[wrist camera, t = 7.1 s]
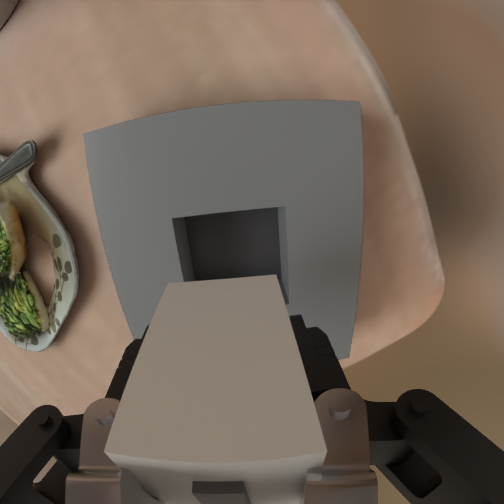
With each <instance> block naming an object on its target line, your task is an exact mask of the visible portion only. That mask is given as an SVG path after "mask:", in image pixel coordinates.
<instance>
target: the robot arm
mask: <svg viewBox="0 0 504 504" xmlns="http://www.w3.org/2000/svg"><path fill="white" fill-rule="evenodd" d="M18 1H19V0H0V29H1V27H2V26H3V25H4V23H5V22H6V20H7V19H8V17H9V16H10V14H11V13H12V11H13V10H14V8H15V6H16V4H17V3H18ZM289 319H290V322H291V325H292V329H293V332H294V335H295V339H296V342H297V346H298V349H299V352H300V356H301V359H302V363H303V366H304V370H305V373H306V377H307V380H308V384H309V387H310V391H311V394H312V398H313V401H314V405H315V408H316V412H317V415H318V419H319V423H320V426H321V430H322V433H323V437H324V441H325V444H326V448H327V453H326V457H325V460H324V463H323V466H319V467H313V468H308V469H307V473H306V478H305V484H304V489H303V492H302V496H301V497H300V501H299V504H378V481H377V476H376V473H375V471H372V470H371V468H370V465H375V466H376V467H377V468H378V469H379V470H380V471H381V472H382V473H383V475H384V476H385V477H386V478H387V479H388V480H389V481H390V482H391V483H392V484H393V485H394V486H395V488H397V490H398V491H399V492H400V493H401V494H402V495H403V496H404V497H405V498H406V499H407V500H408V501H409V502H410V503H411V504H504V451H502V450H501V449H500V448H499V447H498V446H496V445H495V444H494V443H493V442H491V441H490V440H489V439H488V438H487V437H485V436H484V435H483V434H482V433H481V432H479V431H478V430H477V429H476V428H474V427H473V426H472V425H471V424H469V423H468V422H467V421H466V420H465V419H463V418H462V417H461V416H460V415H459V414H457V413H456V412H455V411H454V410H452V409H451V408H450V407H449V406H447V405H446V404H445V403H444V402H443V401H441V400H440V399H439V398H438V397H436V396H435V395H434V394H433V393H430V392H429V391H426V390H422V389H413V390H409V391H407V392H405V393H403V394H402V395H401V396H400V397H399V398H398V400H397V402H372V401H367V400H364V399H363V398H362V397H361V396H360V395H359V394H358V393H356V392H354V391H352V390H351V388H350V387H349V384H348V382H347V380H346V377H345V375H344V373H343V370H342V368H341V366H340V363H339V361H338V359H337V356H336V355H335V352H334V350H333V347H332V346H331V343H330V340H329V338H328V336H327V334H326V333H324V332H323V331H322V330H321V329H320V328H318V327H310V328H306V326H305V323H304V320H303V318H302V315H301V314H300V315H291V316H289ZM148 328H149V325H148V326H147V327H146V329H145V332H144V334H143V336H142V339H135V340H134V341H133V342H132V343H131V344H130V345H129V346H128V347H127V348H126V350H125V352H124V354H123V356H122V360H121V361H120V363H119V368H117V370H116V372H115V375H114V377H113V379H112V382H111V384H110V387H109V389H108V392H107V394H106V396H105V398H102V399H99V400H96V401H94V402H93V403H91V404H90V405H89V406H88V407H87V409H86V410H85V413H84V414H79V415H71V416H63V415H62V413H61V412H60V411H59V409H58V408H56V407H55V406H52V405H43V406H40V407H38V408H36V409H35V410H34V411H33V412H32V413H31V414H30V415H29V416H28V417H27V418H26V419H25V420H24V421H23V422H22V423H21V424H20V426H19V427H18V428H17V429H16V430H15V431H14V432H13V433H12V434H11V435H10V436H9V437H8V439H7V440H6V441H5V442H4V443H3V444H2V445H1V446H0V504H165V503H164V502H163V501H162V500H161V499H160V498H158V497H151V496H150V495H149V494H148V493H147V492H146V491H144V490H143V489H142V488H141V486H140V484H139V482H138V479H137V477H136V476H135V475H134V474H133V473H132V472H131V471H130V470H129V469H128V468H121V467H118V466H117V465H116V464H115V463H114V462H113V461H112V460H111V459H110V458H109V457H108V456H107V455H106V453H105V452H104V449H105V446H106V443H107V439H108V436H109V433H110V430H111V427H112V424H113V421H114V418H115V415H116V412H117V409H118V406H119V403H120V401H121V398H122V395H123V392H124V389H125V387H126V384H127V381H128V379H129V376H130V373H131V371H132V368H133V365H134V363H135V360H136V358H137V355H138V353H139V350H140V348H141V345H142V343H143V340H144V338H145V335H146V333H147V330H148ZM52 456H53V457H54V458H55V459H56V460H57V462H56V463H55V464H54V465H53V467H52V468H51V469H50V470H49V472H48V473H47V474H46V475H45V477H44V478H43V479H42V480H41V481H40V482H38V483H33V480H34V478H35V477H36V476H37V475H38V473H39V472H40V471H41V470H42V469H43V467H44V466H45V465H46V464H47V462H48V461H49V460H50V459H51V457H52Z"/></svg>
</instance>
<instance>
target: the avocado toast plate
mask: <svg viewBox="0 0 504 504" xmlns="http://www.w3.org/2000/svg"><path fill="white" fill-rule="evenodd" d="M36 158H37V146H36V143H35V142H34V141H33V140H29V141H26V142H25V143H23V144H22V145H21V146H19V147H18V148H17V149H16V150H15V151H14V152H13V153H12V154H11V155H10V156H9V157H6V156H4V155H1V154H0V331H1V332H2V333H3V334H4V335H5V336H6V337H7V338H8V339H9V340H10V341H11V342H12V343H14V344H15V345H16V346H18V347H20V348H22V349H24V350H27V351H33V352H40V351H44V350H45V349H46V348H48V347H49V346H50V345H51V344H52V343H53V341H54V340H55V339H56V337H57V335H58V331H59V329H60V328H61V326H62V324H63V322H64V320H65V318H66V317H67V315H68V314H69V311H70V310H71V308H72V305H73V303H74V300H75V298H76V296H77V294H78V291H79V268H78V262H77V257H76V253H75V249H74V245H73V240H72V238H71V236H70V234H69V232H68V231H67V229H66V227H65V226H64V224H63V223H62V221H61V219H60V218H59V216H58V214H57V212H56V211H55V210H54V208H53V207H52V206H51V204H50V203H49V202H48V201H47V200H46V199H45V198H44V197H43V196H42V194H41V193H40V192H39V191H38V190H37V188H36V187H35V185H34V184H33V183H32V181H31V179H30V177H29V169H30V168H31V166H32V165H33V164H34V162H35V160H36ZM32 234H33V235H36V236H38V237H40V238H41V239H43V240H44V241H45V242H47V243H48V244H49V247H50V250H51V254H52V258H53V263H54V273H55V284H54V292H53V295H52V298H51V301H50V304H49V306H47V305H46V304H45V302H44V298H43V296H42V294H41V293H40V292H39V289H38V287H37V285H36V284H35V282H34V280H33V279H32V277H31V274H30V272H29V270H28V267H27V255H26V253H27V249H28V248H30V237H31V235H32Z"/></svg>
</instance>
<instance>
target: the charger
mask: <svg viewBox="0 0 504 504" xmlns="http://www.w3.org/2000/svg"><path fill="white" fill-rule="evenodd" d="M104 452H105V453H106V455H107V456H108V457H109V458H110V459H111V460H112V461H113V462H114V463H115V464H116V465H117V466H118V467H121V468H128V469H129V470H130V471H131V472H132V473H133V474H134V475H135V476H136V477H137V479H138V482H139V484H140V486H141V488H142V489H143V490H144V491H146V492H147V493H148V494H149V495H150V496H151V497H158V498H160V499H161V500H162V501H163V502H164V503H165V504H299V501H300V497H301V496H302V492H303V489H304V484H305V478H306V473H307V469H308V468H313V467H319V466H323V463H324V460H325V457H326V453H327V448H326V444H325V441H324V437H323V433H322V430H321V426H320V423H319V419H318V415H317V412H316V408H315V405H314V401H313V398H312V394H311V391H310V387H309V384H308V380H307V377H306V373H305V370H304V366H303V363H302V359H301V356H300V352H299V349H298V346H297V342H296V339H295V335H294V332H293V329H292V325H291V322H290V319H289V315H288V312H287V308H286V305H285V302H284V299H283V295H282V292H281V289H280V285H279V282H278V279H277V275H265V276H253V277H242V278H230V279H217V280H204V281H191V282H177V283H168V284H167V286H166V288H165V291H164V293H163V295H162V297H161V300H160V302H159V304H158V307H157V309H156V311H155V314H154V316H153V318H152V321H151V323H150V325H149V328H148V330H147V333H146V335H145V338H144V340H143V343H142V345H141V348H140V350H139V353H138V355H137V358H136V360H135V363H134V365H133V368H132V371H131V373H130V376H129V379H128V381H127V384H126V387H125V389H124V392H123V395H122V398H121V401H120V403H119V406H118V409H117V412H116V415H115V418H114V421H113V424H112V427H111V430H110V433H109V436H108V439H107V443H106V446H105V449H104Z"/></svg>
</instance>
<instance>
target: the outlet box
mask: <svg viewBox="0 0 504 504" xmlns="http://www.w3.org/2000/svg"><path fill="white" fill-rule="evenodd" d="M84 142H85V150H86V158H87V166H88V172H89V179H90V185H91V190H92V196H93V201H94V206H95V211H96V216H97V220H98V225H99V229H100V233H101V238H102V242H103V246H104V249H105V253H106V257H107V261H108V264H109V268H110V271H111V275H112V278H113V281H114V284H115V288H116V291H117V294H118V297H119V300H120V303H121V306H122V309H123V312H124V314H125V317H126V320H127V323H128V325H129V328H130V331H131V333H132V336H133V338H134V340H135V339H142V336H143V334H144V332H145V329H146V327H147V326H148V325H150V323H151V321H152V318H153V316H154V314H155V311H156V309H157V307H158V304H159V302H160V300H161V297H162V295H163V293H164V291H165V288H166V286H167V284H168V283H177V282H191V281H204V280H217V279H230V278H242V277H253V276H265V275H277V279H278V282H279V285H280V289H281V292H282V295H283V299H284V302H285V305H286V308H287V312H288V315H289V316H291V315H300V314H301V315H302V318H303V320H304V323H305V326H306V328H310V327H318V328H320V329H321V330H322V331H323V332H324V333H326V334H327V336H328V338H329V340H330V343H331V346H332V347H333V350H334V352H335V355H336V356H337V359H338V360H340V359H345V358H349V355H350V349H351V343H352V337H353V330H354V323H355V315H356V307H357V299H358V289H359V279H360V268H361V254H362V238H363V211H364V163H363V137H362V121H361V108H360V102H355V101H337V100H273V101H255V102H242V103H231V104H221V105H213V106H205V107H198V108H191V109H185V110H179V111H173V112H168V113H163V114H158V115H153V116H148V117H144V118H139V119H135V120H131V121H127V122H123V123H119V124H115V125H111V126H108V127H104V128H101V129H97V130H94V131H91V132H87V133H84Z"/></svg>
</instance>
